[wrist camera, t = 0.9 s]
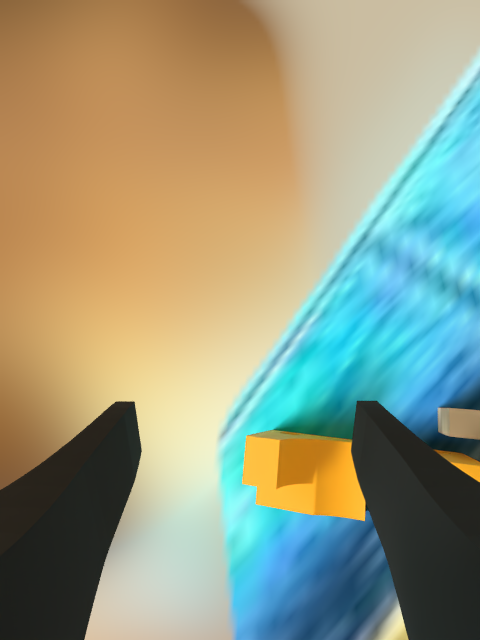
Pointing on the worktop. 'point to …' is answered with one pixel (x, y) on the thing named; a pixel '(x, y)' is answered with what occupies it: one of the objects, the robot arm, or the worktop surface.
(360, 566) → the worktop surface
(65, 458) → the robot arm
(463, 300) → the worktop surface
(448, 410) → the wooden open tray
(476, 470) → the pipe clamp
